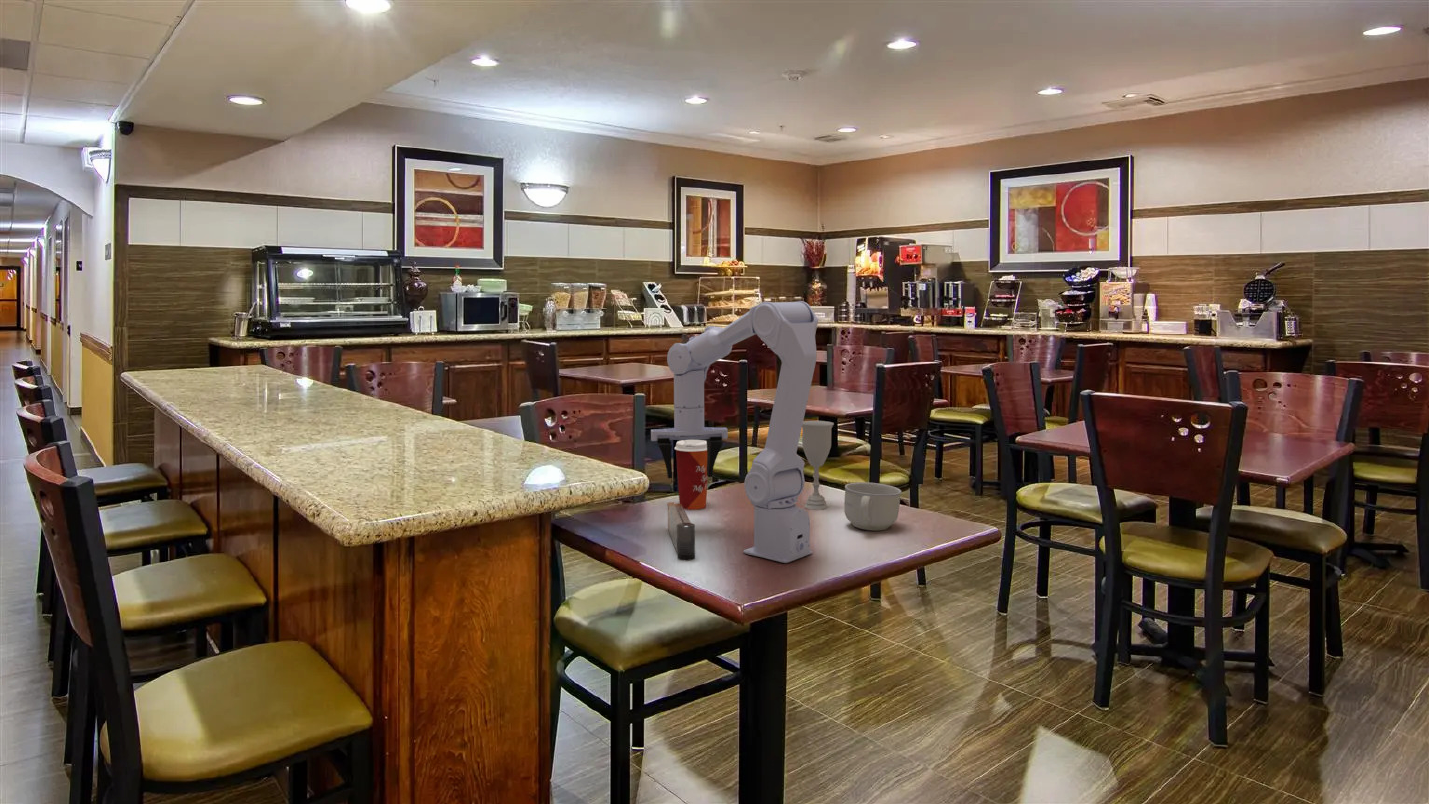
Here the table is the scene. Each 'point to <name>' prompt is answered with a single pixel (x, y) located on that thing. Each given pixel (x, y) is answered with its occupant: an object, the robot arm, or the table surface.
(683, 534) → the tongs fixed arm
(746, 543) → the table surface
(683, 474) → the paper cup
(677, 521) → the tongs moving arm
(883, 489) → the teacup
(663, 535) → the table surface
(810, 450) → the chalice
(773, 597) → the table surface
